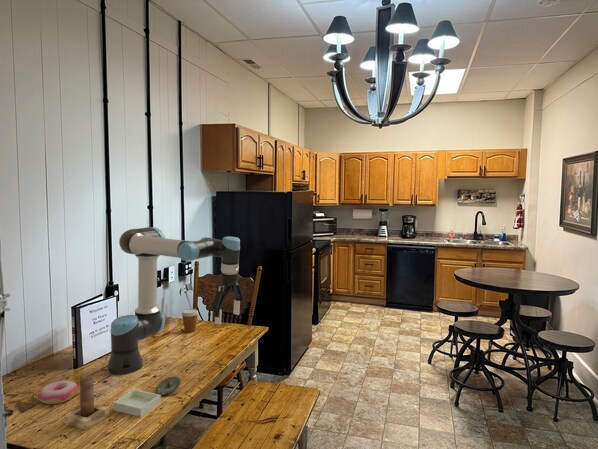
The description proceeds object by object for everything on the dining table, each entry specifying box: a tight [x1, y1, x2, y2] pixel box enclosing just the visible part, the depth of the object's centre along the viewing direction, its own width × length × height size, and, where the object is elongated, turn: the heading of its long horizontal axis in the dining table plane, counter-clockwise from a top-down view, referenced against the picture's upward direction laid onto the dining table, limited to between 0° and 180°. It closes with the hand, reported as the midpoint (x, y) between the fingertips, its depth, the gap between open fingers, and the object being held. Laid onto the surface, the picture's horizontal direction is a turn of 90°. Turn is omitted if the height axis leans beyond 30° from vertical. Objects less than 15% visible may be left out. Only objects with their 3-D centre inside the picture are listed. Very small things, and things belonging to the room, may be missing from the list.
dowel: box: [79, 376, 95, 418], centre depth 149 cm, size 4×4×15 cm
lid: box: [155, 376, 182, 396], centre depth 171 cm, size 11×10×5 cm
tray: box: [112, 388, 162, 417], centre depth 159 cm, size 13×11×3 cm
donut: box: [37, 379, 78, 405], centre depth 165 cm, size 14×13×5 cm
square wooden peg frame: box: [64, 403, 110, 431], centre depth 149 cm, size 10×10×3 cm
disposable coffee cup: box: [181, 308, 199, 334], centre depth 244 cm, size 10×10×12 cm
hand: (227, 318), depth 183 cm, fingers open, 13 cm apart
